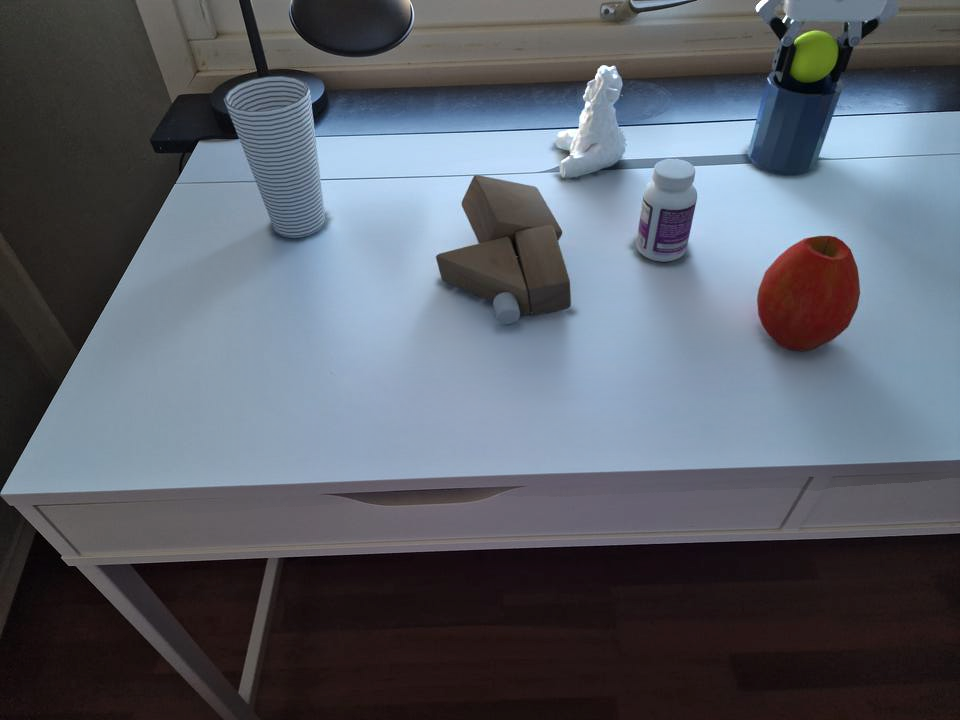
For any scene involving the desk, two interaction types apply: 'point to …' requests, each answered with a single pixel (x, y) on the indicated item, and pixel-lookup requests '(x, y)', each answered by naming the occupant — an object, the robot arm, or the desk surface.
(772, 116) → the tube
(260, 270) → the desk surface
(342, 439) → the desk surface
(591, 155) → the white creature statuette
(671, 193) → the pill bottle
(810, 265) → the apple
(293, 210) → the cup
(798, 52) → the ball
